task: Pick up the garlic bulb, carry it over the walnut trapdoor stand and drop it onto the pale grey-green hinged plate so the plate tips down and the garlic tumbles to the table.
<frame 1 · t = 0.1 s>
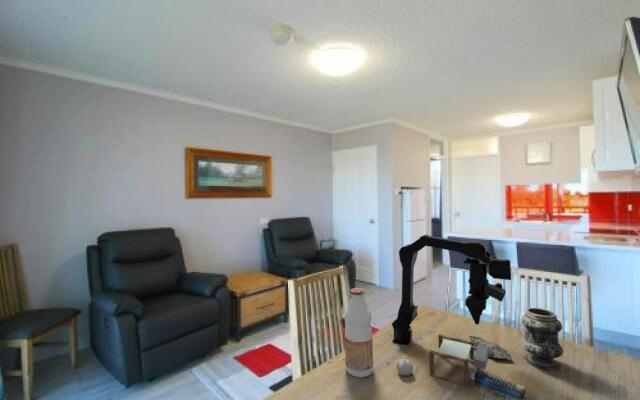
hand: (478, 319, 112), 15 cm above the table, fingers open, 9 cm apart
trapdoor: (463, 351, 105), point 7 cm above the table, hinge at 0.0°
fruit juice: (359, 370, 108), on the table
apothecary jar: (541, 362, 110), on the table
mineral rock: (489, 354, 117), on the table
stand: (454, 370, 106), on the table
garlic: (404, 374, 105), on the table
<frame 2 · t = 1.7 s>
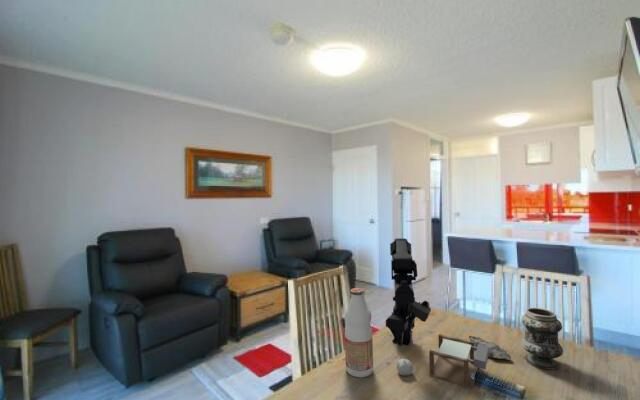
hand: (404, 339, 105), 11 cm above the table, fingers open, 9 cm apart
nothing on the table moved.
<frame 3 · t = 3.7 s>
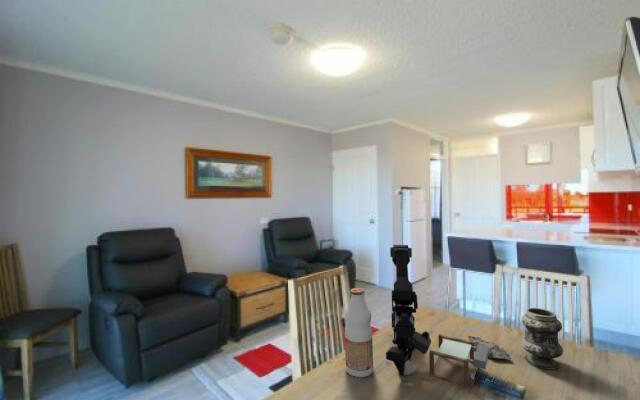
hand: (404, 370, 105), 1 cm above the table, fingers closed on garlic, 6 cm apart
garlic: (404, 374, 105), on the table, touching gripper
everything else where it was.
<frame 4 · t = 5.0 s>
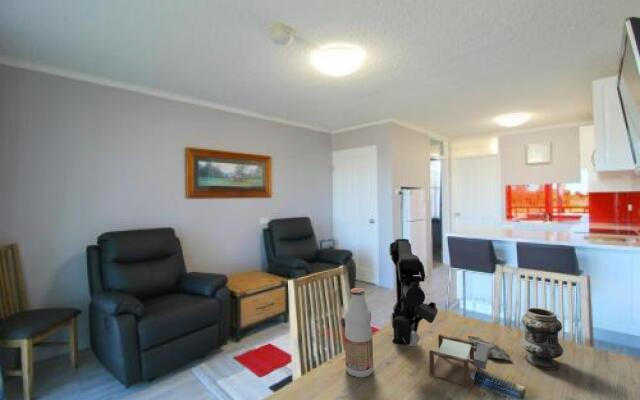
hand: (411, 340, 105), 11 cm above the table, fingers closed on garlic, 6 cm apart
garlic: (410, 344, 106), point 9 cm above the table, touching gripper
everything else where it was.
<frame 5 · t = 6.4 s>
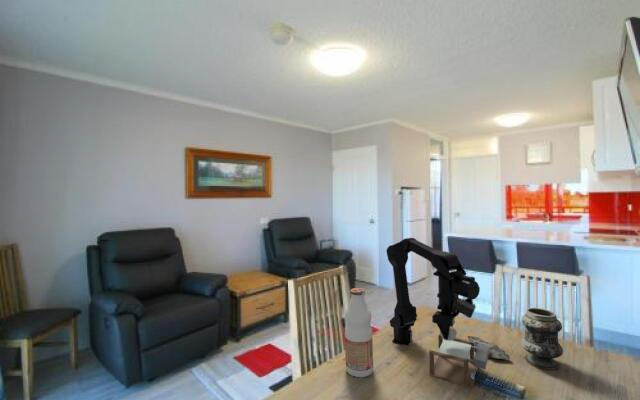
hand: (448, 335, 107), 11 cm above the table, fingers closed on garlic, 6 cm apart
garlic: (448, 339, 107), point 10 cm above the table, touching gripper
everything else where it was.
when the fingers open (11 cm above the table, at t = 6.5 s): garlic drops 7 cm, point 3 cm above the table.
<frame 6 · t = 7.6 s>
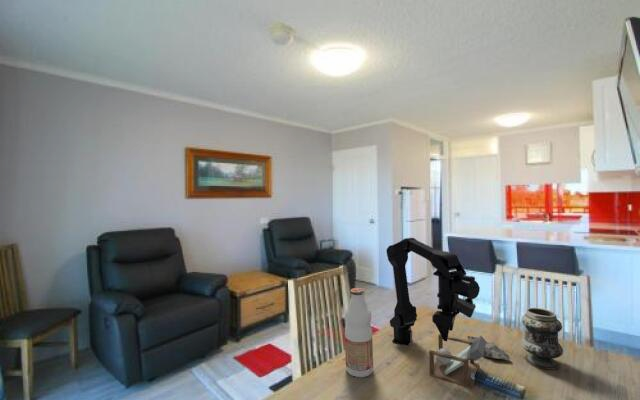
hand: (448, 335, 107), 11 cm above the table, fingers open, 9 cm apart
trapdoor: (464, 355, 105), point 6 cm above the table, hinge at -42.7°
garlic: (450, 361, 107), point 3 cm above the table
everything else where it was.
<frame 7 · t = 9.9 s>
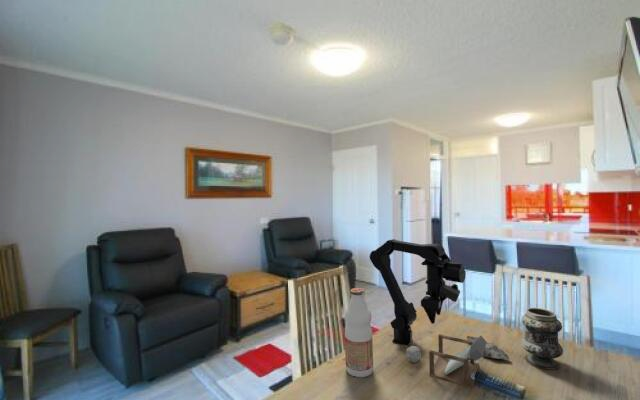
hand: (435, 319, 118), 13 cm above the table, fingers open, 9 cm apart
garlic: (407, 351, 115), point 3 cm above the table
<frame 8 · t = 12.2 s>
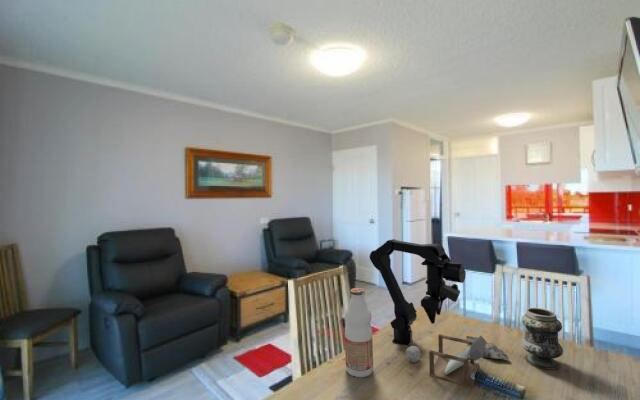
hand: (435, 319, 118), 13 cm above the table, fingers open, 9 cm apart
at the end: garlic point 2.5 cm above the table; trapdoor at -43° (first picture: +0°) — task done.
